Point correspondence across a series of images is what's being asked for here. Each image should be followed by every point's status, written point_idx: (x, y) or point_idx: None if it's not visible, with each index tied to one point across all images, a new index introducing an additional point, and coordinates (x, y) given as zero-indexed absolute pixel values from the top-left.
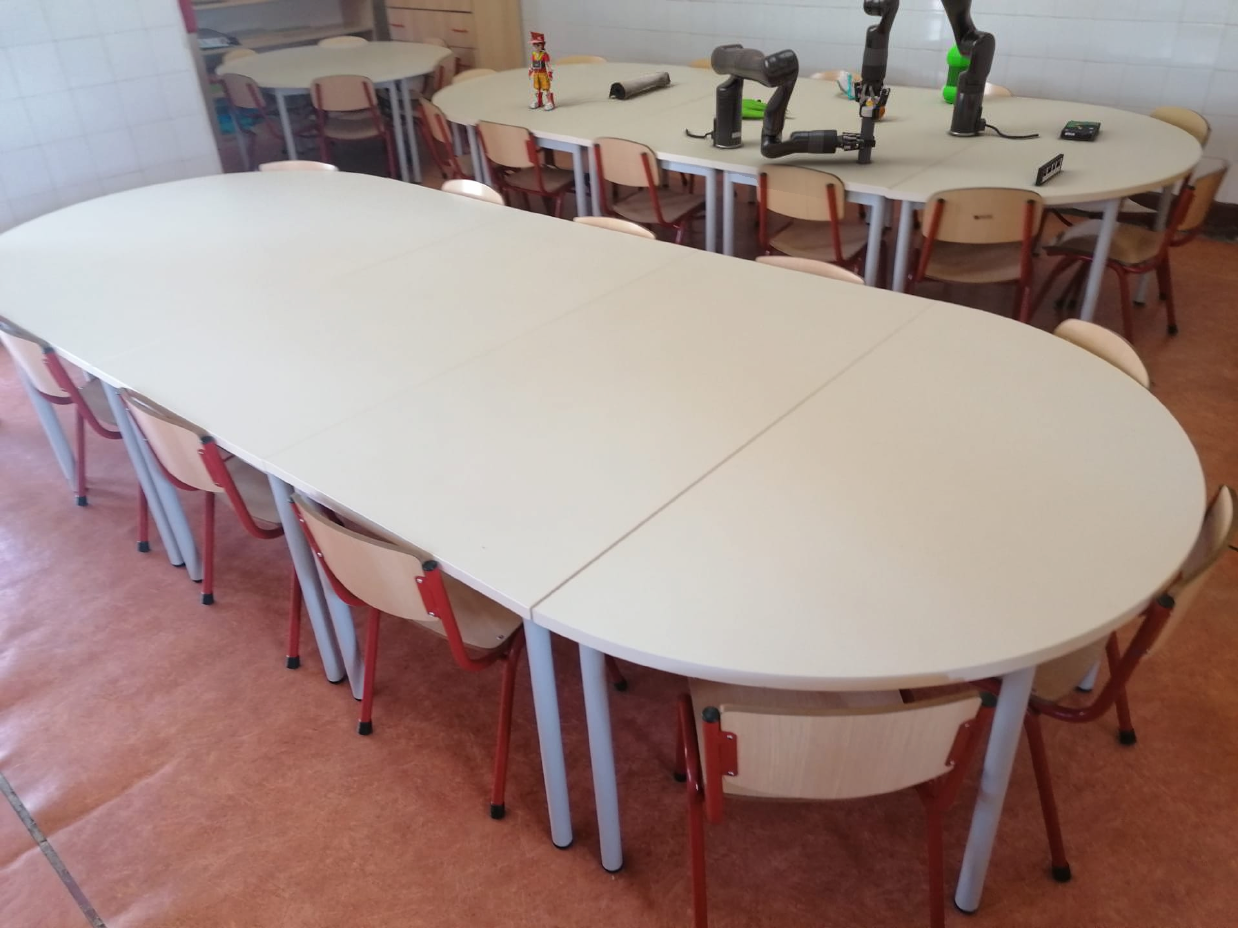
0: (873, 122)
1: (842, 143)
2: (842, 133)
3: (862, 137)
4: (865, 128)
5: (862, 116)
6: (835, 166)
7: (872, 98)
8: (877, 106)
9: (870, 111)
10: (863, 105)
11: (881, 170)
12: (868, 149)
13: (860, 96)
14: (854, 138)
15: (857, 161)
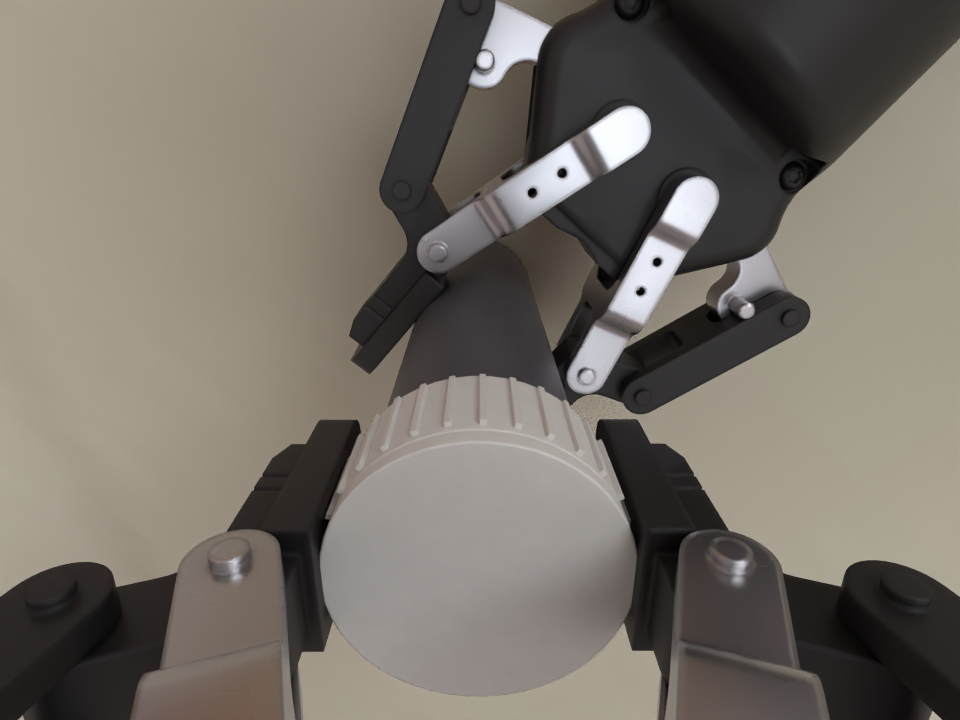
0: None
1: (555, 25)
2: (801, 299)
3: (471, 292)
4: (440, 333)
5: None
6: (552, 11)
7: (202, 717)
8: (167, 602)
9: (356, 476)
10: (651, 574)
11: (224, 231)
12: None
13: (808, 685)
14: (505, 190)
15: (509, 250)
